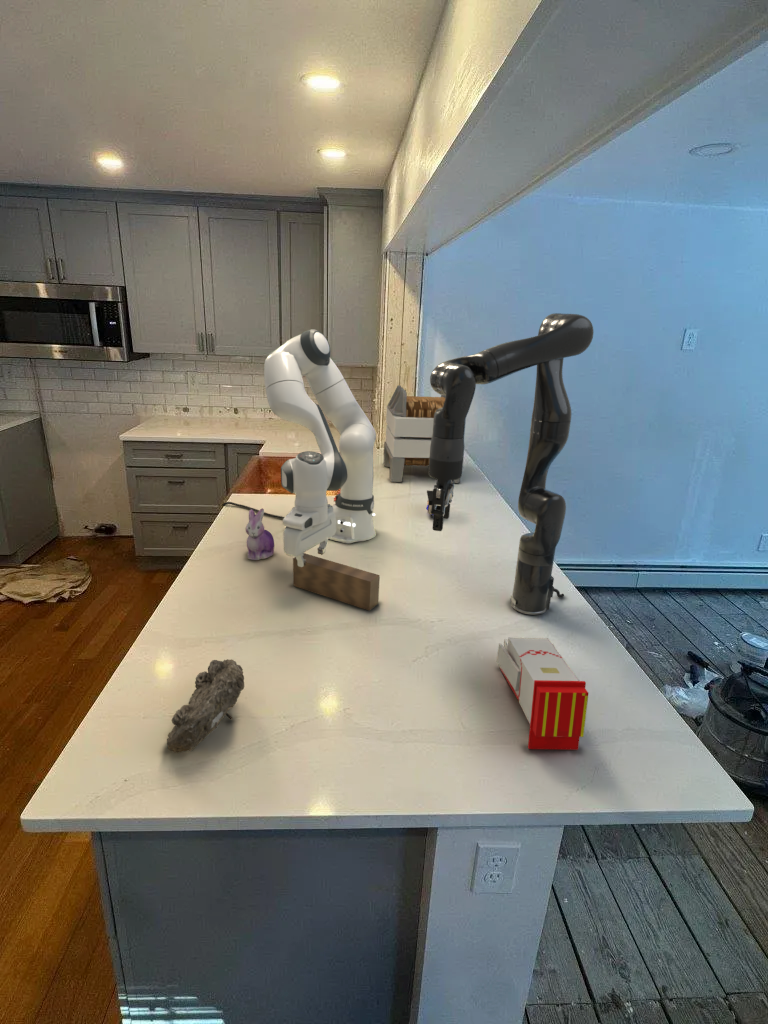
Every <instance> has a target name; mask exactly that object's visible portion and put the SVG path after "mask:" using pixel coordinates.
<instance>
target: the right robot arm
mask: <svg viewBox="0 0 768 1024" xmlns="http://www.w3.org/2000/svg"><path fill="white" fill-rule="evenodd" d="M594 332H595V331H594V326H593V323H592V321H591V320H590V319H589V318H588V317H587V316H585V315H582V314H578V313H564V312H563V313H562V312H561V313H560V312H558V313H557V312H556V313H555V312H554V313H550V314H548V315H546V317H545V318H544V319H543V320H542V321H541V323H540V325H539V329H538V333H537V335H535V336H530V337H527V338H521V339H516V340H511V341H507V342H502V343H500V344H496V345H494V346H492V347H489V348H486V349H484V350H481V351H478V352H477V353H474V354H470V355H464V356H461V357H456V358H451V359H448V360H445V361H443V362H440V363H439V364H438V365H436V366H435V367H434V369H432V371H431V374H430V377H429V384H430V386H431V388H432V390H433V391H434V392H435V393H437V394H439V395H440V396H441V395H444V396H446V398H445V402H444V406H443V408H439V409H437V410H436V411H435V414H434V419H433V433H432V440H431V445H430V457H429V465H428V472H427V473H428V476H429V477H430V478H432V479H435V480H436V482H435V484H434V485H433V489H432V491H433V499H432V510H431V514H433V515H432V516H433V518H432V530H433V531H435V532H442V531H443V529H444V520H448V519H449V518H450V512H451V503H452V502H453V498H454V489H455V483H454V480H457V479H460V480H461V478H462V477H463V468H464V467H463V466H464V458H465V457H464V455H465V435H466V419H467V416H468V414H469V411H470V409H471V405H472V402H473V399H474V397H475V394H476V389H477V385H488V384H492V383H494V382H496V381H499V380H502V379H503V378H506V377H508V376H511V375H513V374H516V373H519V372H521V371H523V370H526V369H529V368H532V367H535V366H536V378H535V386H534V387H535V389H534V397H533V398H534V399H533V407H532V408H533V409H532V413H531V419H530V420H531V421H530V429H529V431H530V432H529V440H528V441H529V442H528V448H527V454H526V461H525V467H524V468H525V469H524V473H523V476H522V481H521V486H520V491H519V495H518V501H517V510H518V514H519V516H520V517H521V518H523V519H524V520H526V521H528V522H530V523H531V524H534V525H535V527H534V532H527V533H524V534H522V535H521V536H520V538H519V543H518V552H517V560H516V566H515V574H514V580H513V581H514V582H513V588H512V595H510V606H511V607H512V609H513V610H515V611H516V612H519V613H521V614H524V615H530V616H538V615H542V614H544V613H546V612H547V611H549V610H550V608H551V607H550V606H551V599H552V598H553V596H554V593H555V594H556V596H557V598H564V597H565V594H564V593H561V592H560V591H559V589H557V588H556V587H555V586H554V583H555V582H554V581H555V577H554V576H553V575H552V574H553V568H554V560H555V554H556V549H557V546H558V544H559V542H560V539H561V536H562V531H563V526H564V523H565V517H566V511H567V502H566V499H565V498H564V497H563V495H561V494H559V493H557V492H555V491H551V490H549V489H546V485H547V477H548V472H549V469H550V468H551V465H552V463H553V462H554V460H555V459H556V458H557V457H558V456H559V454H561V452H562V450H564V448H565V446H566V445H567V442H568V441H569V435H570V431H571V430H570V429H571V423H572V406H571V402H570V399H569V397H568V392H567V389H566V386H565V383H564V378H563V377H564V376H563V369H564V359H565V358H569V357H570V358H571V357H576V356H579V355H581V354H582V353H585V351H586V350H588V348H590V346H591V343H592V341H593V339H594ZM437 506H440V510H437V509H436V508H437Z"/></svg>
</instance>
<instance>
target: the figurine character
mask: <svg viewBox="0 0 768 1024" xmlns="http://www.w3.org/2000/svg"><path fill="white" fill-rule="evenodd" d="M426 495H427V502H426V511H427V513H428V515H430V518H432V519H433V514H431V510H432V499H433V490H427V489H426ZM436 509H437V510H440V506H437V508H436Z"/></svg>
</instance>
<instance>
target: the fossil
mask: <svg viewBox="0 0 768 1024" xmlns="http://www.w3.org/2000/svg"><path fill="white" fill-rule="evenodd" d="M243 670H244V669H243V667H242V665H240V664H237V662H236V661H235V660H234V659H232V658H231V659H227V658H226V659H224V660H223V661H222V660H217V659H212V660H211V661H210V663H209V665H208V666H207V671H201V672H199V673H198V674H197V675H196V676H195V680H194V684H195V685H194V687H195V689H194V690H193V693H192V694H191V697H190V698H189V700H188V704H184V705H182V706H181V707H180V709H177V710H176V711H175V713H174V715H173V716H172V718H171V723H172V724H173V727H172V730H171V731H170V732H168V734H167V738H166V741H167V742H166V745H167V749H168V750H169V751H173V752H174V753H176V754H178V753H182V752H188V751H189V752H192V751H193V750H195V748H196V747H197V746H199V744H200V743H201V742H203V741H204V740H205V739H206V738H207V737H208V736H209V735H210V734H211V733H212V732H214V730H215V729H217V727H218V726H219V724H220V722H221V721H222V720H223V719H224V718H225V716H226V717H227V719H229V720H233V717H232V715H230V714H229V710H230V709H231V708H234V706H235V704H236V703H237V702H238V699H239V697H240V695H241V693H242V691H243V690H245V689H244V688H245V675H244V671H243Z"/></svg>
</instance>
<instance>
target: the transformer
mask: <svg viewBox="0 0 768 1024" xmlns="http://www.w3.org/2000/svg"><path fill="white" fill-rule="evenodd" d="M407 394H408V393H407V390H406V389H404V388H403V387H402V385H399V384H398V385H397V386H396V388H395V390H394V392H393V394H392V395H391V398H390V400H389V402H388V404H387V405H386V413H385V414H386V415H385V423H386V428H385V438H384V442H383V466H384V467H388V468H389V475H388V476H389V477H388V478H389V480H390V482H391V483H402V482H403V475H404V469H405V466H406V467H407V466H411V467H412V466H413V467H415V466H416V467H417V466H418V467H429V457H430V445H431V440H432V433H433V419H434V414H435V411H436V410H437V409H439V408H443V406H444V402H445V398H446V396H444V395H440V396H415V395H414V396H413V395H412V396H411V395H407ZM455 483H456V484H459V483H461V478H460V479H457V480H454V484H455Z"/></svg>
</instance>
